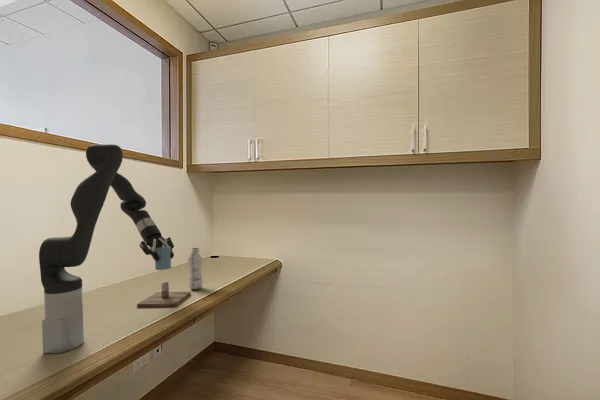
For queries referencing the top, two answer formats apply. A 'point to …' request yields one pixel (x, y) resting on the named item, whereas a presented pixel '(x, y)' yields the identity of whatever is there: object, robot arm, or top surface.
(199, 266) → the plastic bottle
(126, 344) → the top surface
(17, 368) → the top surface
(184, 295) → the post dock
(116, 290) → the top surface
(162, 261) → the blue-grey rounded cylinder
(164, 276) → the top surface
